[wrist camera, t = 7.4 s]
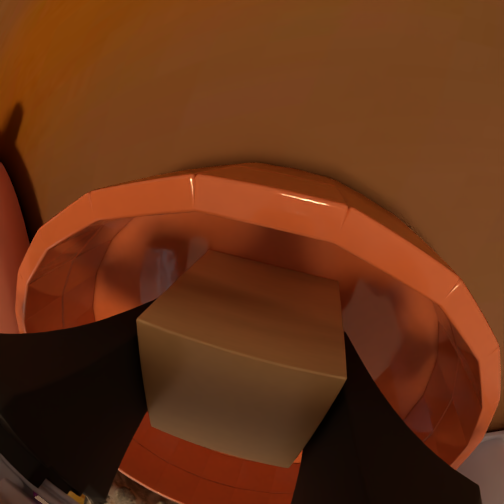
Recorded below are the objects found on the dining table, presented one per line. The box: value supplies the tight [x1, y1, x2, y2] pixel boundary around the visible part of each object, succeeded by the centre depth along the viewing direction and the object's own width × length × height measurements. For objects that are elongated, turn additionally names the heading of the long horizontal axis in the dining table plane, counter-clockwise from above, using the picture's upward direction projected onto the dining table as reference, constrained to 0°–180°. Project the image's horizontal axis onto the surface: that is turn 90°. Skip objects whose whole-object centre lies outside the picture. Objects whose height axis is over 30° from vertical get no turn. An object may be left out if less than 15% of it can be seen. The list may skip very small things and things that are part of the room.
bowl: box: [15, 162, 501, 504], centre depth 9 cm, size 17×17×5 cm
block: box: [136, 250, 347, 468], centre depth 8 cm, size 4×4×4 cm
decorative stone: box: [84, 470, 179, 504], centre depth 18 cm, size 16×9×10 cm, turn 56°
